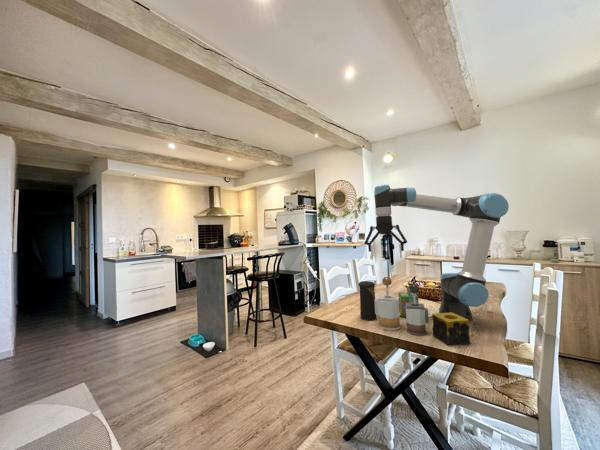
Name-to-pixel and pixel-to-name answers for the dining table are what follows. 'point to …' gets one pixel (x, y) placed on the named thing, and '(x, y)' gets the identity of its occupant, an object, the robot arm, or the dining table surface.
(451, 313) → the dark box with hole
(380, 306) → the press large
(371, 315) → the container
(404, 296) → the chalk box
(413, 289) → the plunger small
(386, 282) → the plunger large
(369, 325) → the dining table surface
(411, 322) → the press small
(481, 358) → the dining table surface
